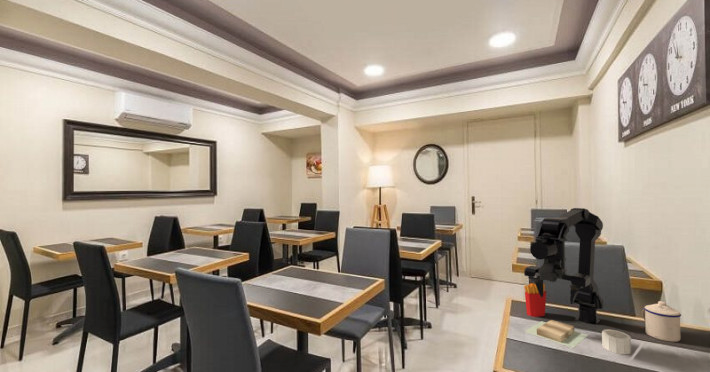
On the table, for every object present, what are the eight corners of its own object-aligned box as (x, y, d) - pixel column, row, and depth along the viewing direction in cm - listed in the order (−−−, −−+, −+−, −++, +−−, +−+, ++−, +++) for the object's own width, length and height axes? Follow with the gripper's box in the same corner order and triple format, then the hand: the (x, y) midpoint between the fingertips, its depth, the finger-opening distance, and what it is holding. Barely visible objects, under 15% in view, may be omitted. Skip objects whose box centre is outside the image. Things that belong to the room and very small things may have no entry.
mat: (541, 322, 121) (541, 321, 121) (588, 336, 109) (588, 335, 109) (524, 333, 112) (524, 331, 112) (573, 349, 101) (573, 348, 101)
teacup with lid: (689, 342, 105) (689, 306, 105) (661, 342, 105) (661, 307, 105) (655, 326, 117) (655, 294, 117) (630, 326, 117) (630, 294, 117)
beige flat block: (551, 325, 117) (550, 319, 117) (574, 332, 112) (574, 326, 112) (536, 334, 110) (536, 328, 110) (560, 342, 104) (560, 336, 104)
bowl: (606, 343, 105) (605, 327, 105) (633, 351, 100) (632, 335, 100) (599, 349, 101) (599, 333, 101) (627, 358, 95) (627, 341, 95)
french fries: (540, 312, 131) (539, 280, 131) (549, 316, 127) (548, 283, 127) (521, 315, 128) (521, 282, 129) (530, 319, 124) (529, 285, 124)
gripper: (516, 254, 112) (517, 299, 112) (578, 264, 98) (580, 315, 98) (530, 250, 119) (531, 291, 119) (590, 257, 105) (591, 305, 105)
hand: (556, 300), depth 110 cm, fingers open, 9 cm apart
